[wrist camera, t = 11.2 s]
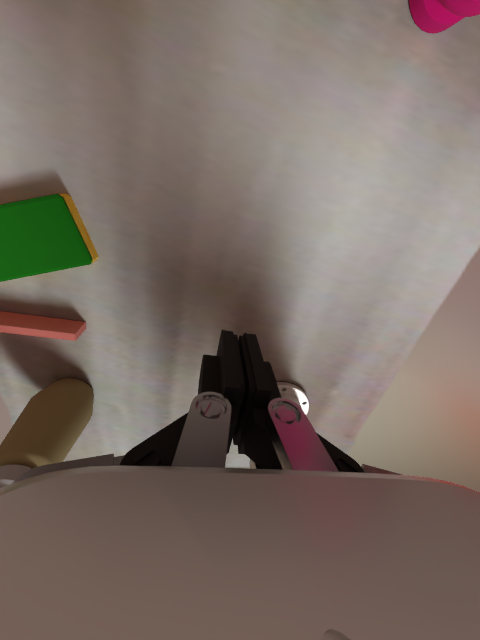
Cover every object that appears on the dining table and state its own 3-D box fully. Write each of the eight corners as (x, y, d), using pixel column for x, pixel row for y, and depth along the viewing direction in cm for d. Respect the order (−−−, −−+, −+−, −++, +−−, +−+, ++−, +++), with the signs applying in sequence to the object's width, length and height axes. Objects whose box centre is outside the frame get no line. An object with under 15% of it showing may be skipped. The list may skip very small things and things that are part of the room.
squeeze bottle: (31, 384, 37) (-101, 533, 21) (75, 363, 36) (-29, 503, 20) (72, 415, 41) (-15, 561, 25) (112, 397, 40) (49, 536, 24)
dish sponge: (-59, 217, 26) (-83, 220, 24) (71, 192, 26) (59, 193, 24) (-13, 280, 29) (-30, 287, 27) (101, 258, 29) (92, 264, 27)
